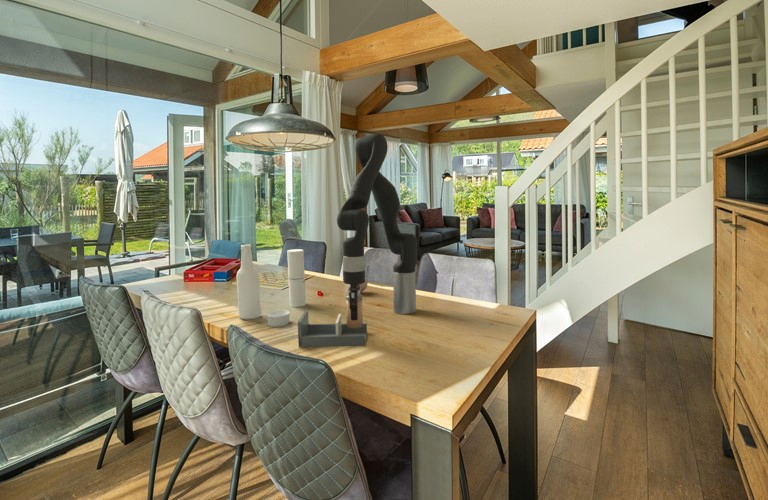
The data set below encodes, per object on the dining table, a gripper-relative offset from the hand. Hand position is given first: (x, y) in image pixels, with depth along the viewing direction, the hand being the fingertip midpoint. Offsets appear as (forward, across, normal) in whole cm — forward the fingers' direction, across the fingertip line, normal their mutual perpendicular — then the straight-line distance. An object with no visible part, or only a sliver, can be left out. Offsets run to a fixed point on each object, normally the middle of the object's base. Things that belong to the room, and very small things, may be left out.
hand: (354, 317), depth 137 cm
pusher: (+7, 0, +6) cm, 9 cm away
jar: (+3, 0, 0) cm, 3 cm away
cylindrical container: (+8, +44, +29) cm, 53 cm away
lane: (+8, 0, +7) cm, 11 cm away
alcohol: (+8, +27, +45) cm, 53 cm away
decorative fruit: (+8, +63, +2) cm, 64 cm away
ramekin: (+8, +18, +31) cm, 37 cm away
